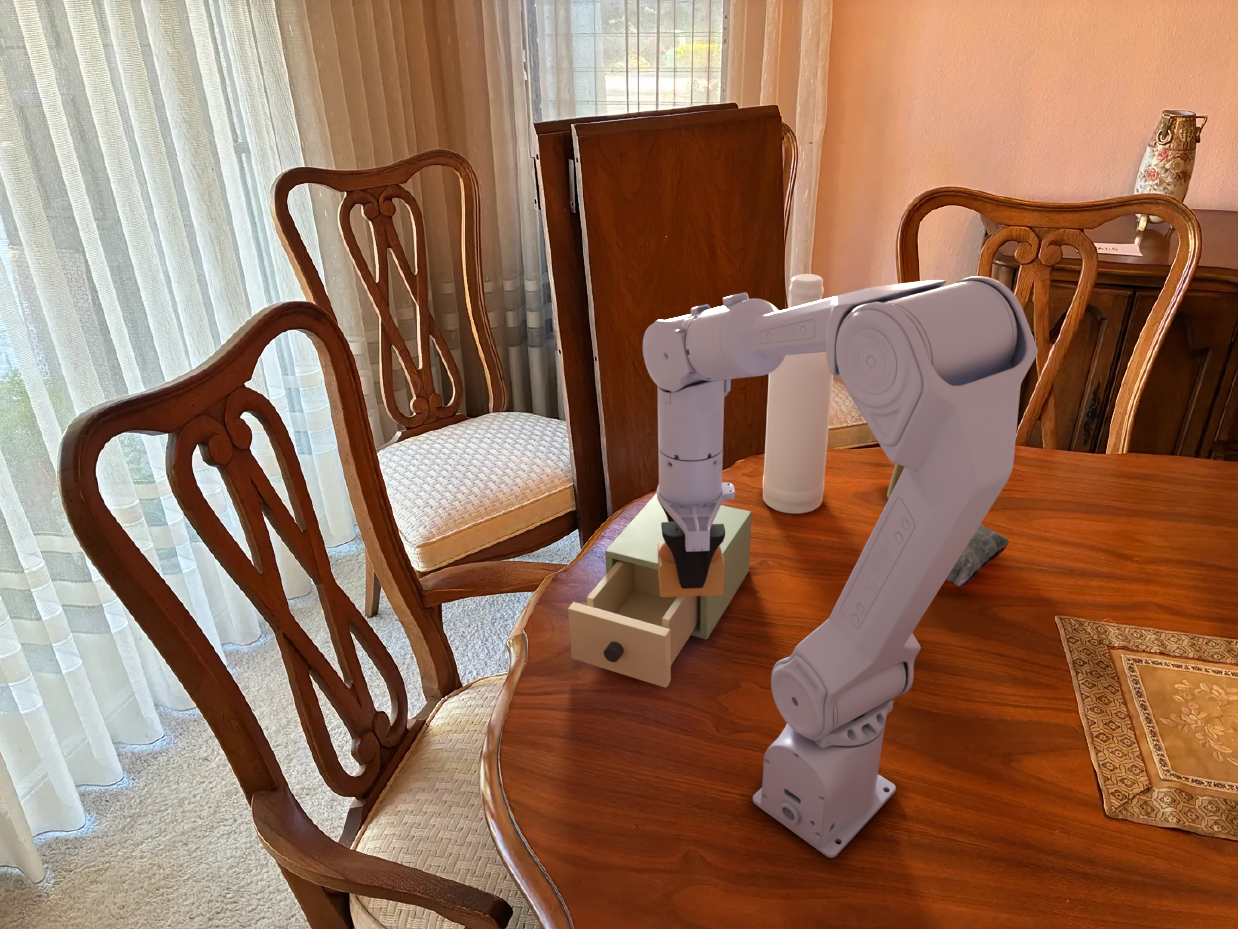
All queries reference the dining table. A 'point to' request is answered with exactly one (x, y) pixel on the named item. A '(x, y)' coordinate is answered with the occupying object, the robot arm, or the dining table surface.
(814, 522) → the dining table surface
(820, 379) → the bottle
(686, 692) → the dining table surface
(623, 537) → the drawer cabinet
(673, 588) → the light brown block
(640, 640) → the wooden pull-out drawer
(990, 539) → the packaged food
